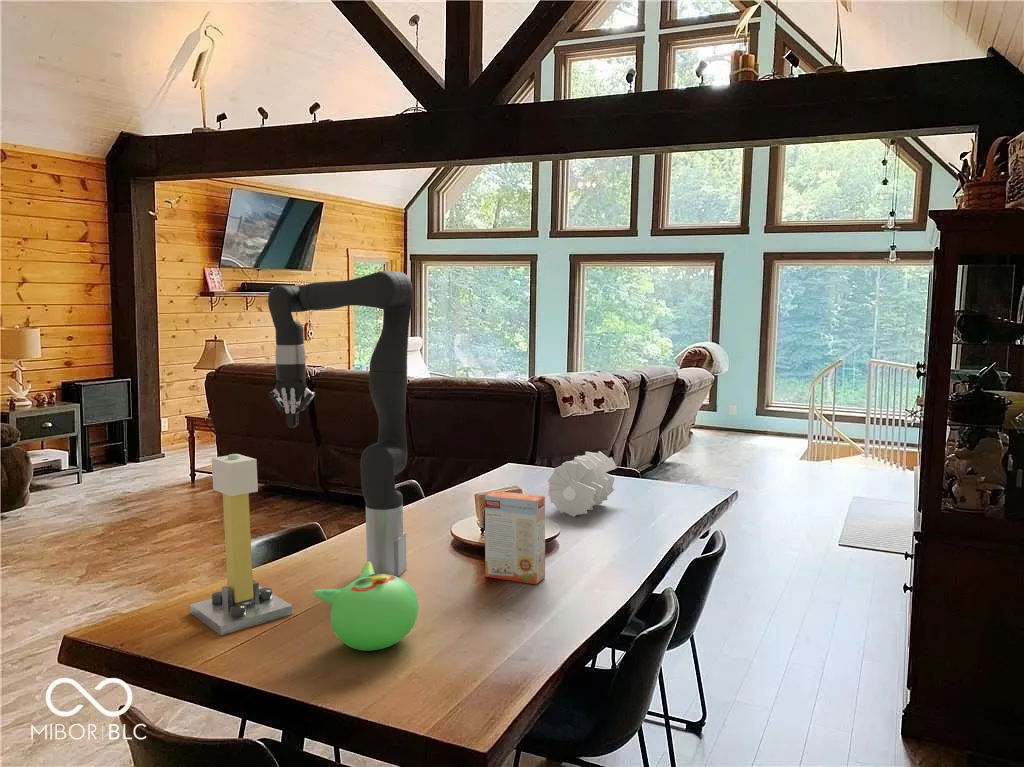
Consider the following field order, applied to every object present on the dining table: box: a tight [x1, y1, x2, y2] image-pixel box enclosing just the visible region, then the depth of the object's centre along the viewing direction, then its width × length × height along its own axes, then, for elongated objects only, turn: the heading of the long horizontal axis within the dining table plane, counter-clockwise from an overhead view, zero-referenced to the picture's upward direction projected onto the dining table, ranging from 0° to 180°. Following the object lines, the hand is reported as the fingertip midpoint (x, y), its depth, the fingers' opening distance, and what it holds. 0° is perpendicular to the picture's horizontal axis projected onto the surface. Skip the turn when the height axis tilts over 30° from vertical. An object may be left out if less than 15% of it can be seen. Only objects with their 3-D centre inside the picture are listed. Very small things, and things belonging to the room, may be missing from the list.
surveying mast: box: [211, 453, 259, 605], centre depth 170 cm, size 9×6×33 cm, turn 43°
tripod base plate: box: [189, 579, 294, 636], centre depth 171 cm, size 16×16×6 cm
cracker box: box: [484, 490, 546, 585], centre depth 192 cm, size 14×6×21 cm, turn 65°
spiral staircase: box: [547, 450, 618, 518], centre depth 255 cm, size 18×18×25 cm
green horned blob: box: [312, 561, 419, 652], centre depth 156 cm, size 18×17×15 cm
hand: (292, 427), depth 207 cm, fingers closed
